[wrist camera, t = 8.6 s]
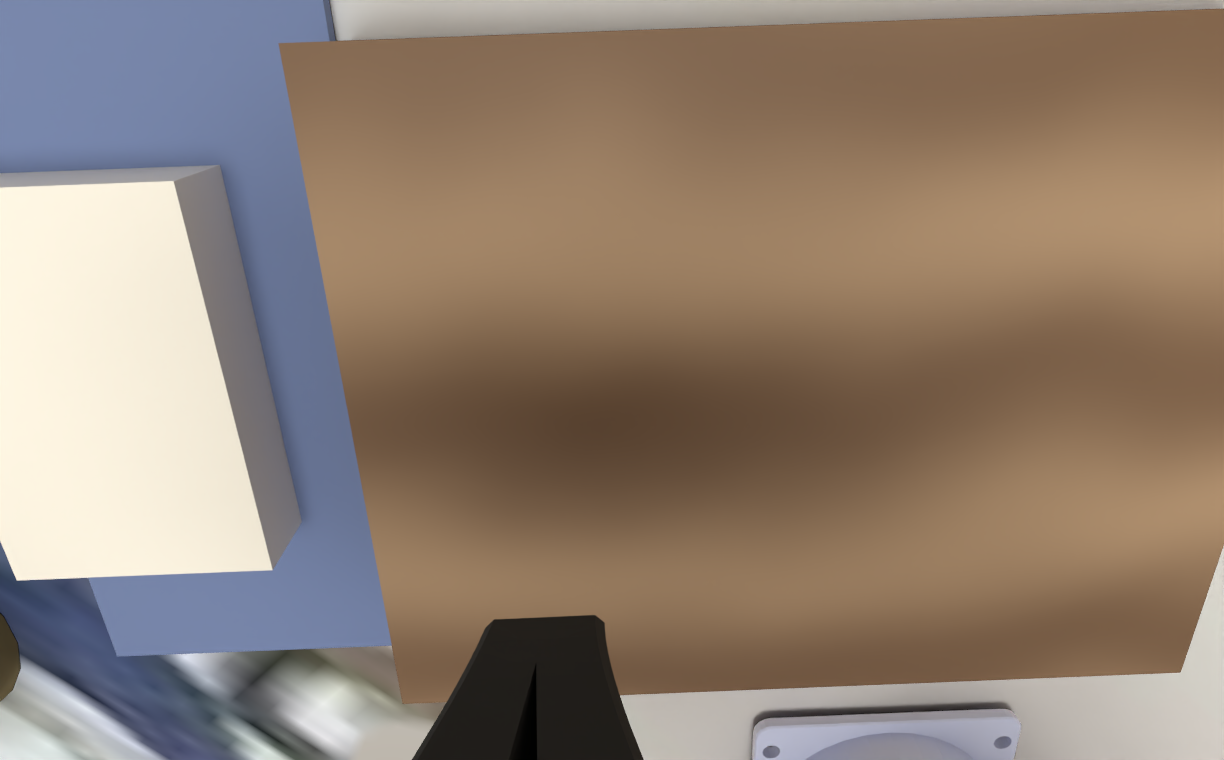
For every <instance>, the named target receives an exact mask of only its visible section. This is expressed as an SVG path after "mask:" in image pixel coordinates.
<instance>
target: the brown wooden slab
mask: <svg viewBox="0 0 1224 760" xmlns="http://www.w3.org/2000/svg"><path fill="white" fill-rule="evenodd" d="M278 44H279V49H280V55H281V60H282V65H283V71H284V76H285V81H286V87H287V92H288V97H289V102H290V108H291V113H292V118H293V124H294V129H295V134H296V140H297V145H298V150H299V156H300V161H301V166H302V171H303V177H304V182H305V187H306V193H307V198H308V203H309V209H310V214H311V219H312V225H313V230H314V235H315V241H316V246H317V251H318V256H319V262H320V267H321V272H322V278H323V283H324V288H325V294H326V299H327V304H328V310H329V315H330V320H331V325H332V331H333V336H334V341H335V347H336V352H337V357H338V363H339V368H340V373H341V379H342V384H343V389H344V394H345V400H346V405H347V410H348V416H349V421H350V426H351V432H352V437H353V442H354V448H355V453H356V458H357V464H358V469H359V474H360V479H361V485H362V490H363V495H364V501H365V506H366V511H367V517H368V522H369V527H370V533H371V538H372V543H373V548H374V554H375V559H376V564H377V570H378V575H379V580H380V586H381V591H382V596H383V602H384V607H385V612H386V618H387V623H388V628H389V633H390V639H391V644H392V649H393V655H394V660H395V665H396V671H397V676H398V681H399V687H400V692H401V697H402V702H403V704H410V703H435V702H447V701H448V699H449V697H450V695H451V694H452V692H453V690H454V688H455V687H456V685H457V683H458V681H459V679H460V678H461V676H462V674H463V672H464V670H465V668H466V666H467V664H468V662H469V661H470V659H471V657H472V655H473V653H474V651H475V649H476V647H477V645H478V643H479V640H480V638H481V636H482V634H483V632H484V630H485V627H487V626H488V625H489V624H490V623H491V622H492V621H493V620H494V619H516V618H538V617H560V616H582V615H596V616H597V617H598V618H600V619H601V620H602V621H603V622H605V636H606V643H607V649H608V654H609V659H610V663H611V667H612V671H613V675H614V678H615V681H616V685H617V688H618V691H619V695H634V694H659V693H683V692H708V691H733V690H758V689H783V688H808V687H832V686H857V685H882V684H907V683H932V682H957V681H981V680H1006V679H1031V678H1056V677H1081V676H1106V675H1131V674H1155V673H1180V672H1181V670H1182V667H1183V664H1184V661H1185V658H1186V655H1187V652H1188V649H1189V646H1190V643H1191V640H1192V637H1193V634H1194V631H1195V628H1196V625H1197V622H1198V619H1199V616H1200V613H1201V611H1202V608H1203V605H1204V602H1205V599H1206V596H1207V593H1208V590H1209V587H1210V584H1211V581H1212V578H1213V575H1214V572H1215V569H1216V566H1217V563H1218V560H1219V557H1220V554H1221V551H1222V549H1223V546H1224V9H1202V10H1175V11H1147V12H1120V13H1092V14H1065V15H1037V16H1010V17H982V18H955V19H928V20H900V21H873V22H845V23H818V24H790V25H763V26H735V27H708V28H681V29H653V30H626V31H598V32H571V33H543V34H516V35H488V36H461V37H434V38H406V39H379V40H351V41H324V42H296V43H278Z"/></svg>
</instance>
